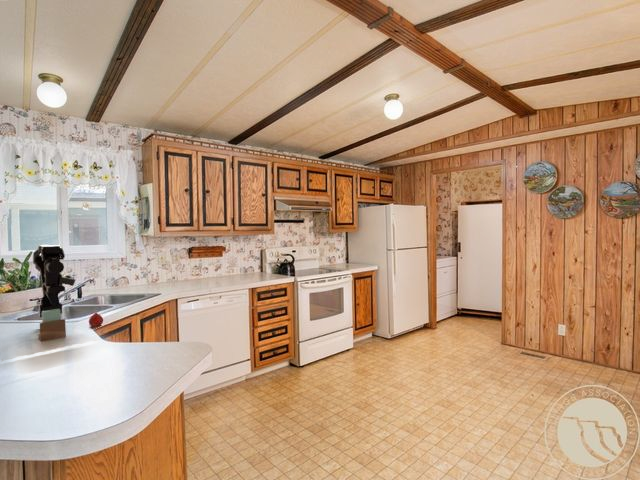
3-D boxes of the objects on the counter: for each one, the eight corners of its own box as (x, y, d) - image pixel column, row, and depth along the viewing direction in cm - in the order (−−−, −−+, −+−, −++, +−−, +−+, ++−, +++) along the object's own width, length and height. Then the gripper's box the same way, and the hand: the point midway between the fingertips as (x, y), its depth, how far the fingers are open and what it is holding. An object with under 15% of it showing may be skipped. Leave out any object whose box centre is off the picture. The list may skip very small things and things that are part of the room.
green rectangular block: (43, 338, 148) (41, 311, 148) (60, 335, 153) (59, 308, 152) (44, 340, 146) (42, 312, 146) (61, 336, 151) (60, 309, 150)
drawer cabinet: (36, 337, 154) (35, 317, 154) (59, 333, 160) (59, 314, 160) (40, 344, 144) (39, 323, 144) (66, 339, 151) (65, 319, 150)
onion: (86, 329, 166) (85, 312, 166) (98, 326, 171) (98, 310, 171) (93, 330, 163) (93, 314, 163) (105, 327, 169) (105, 311, 168)
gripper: (77, 271, 160) (79, 305, 160) (69, 269, 173) (70, 299, 173) (47, 274, 152) (49, 309, 152) (41, 271, 165) (42, 303, 165)
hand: (54, 305), depth 161 cm, fingers closed
